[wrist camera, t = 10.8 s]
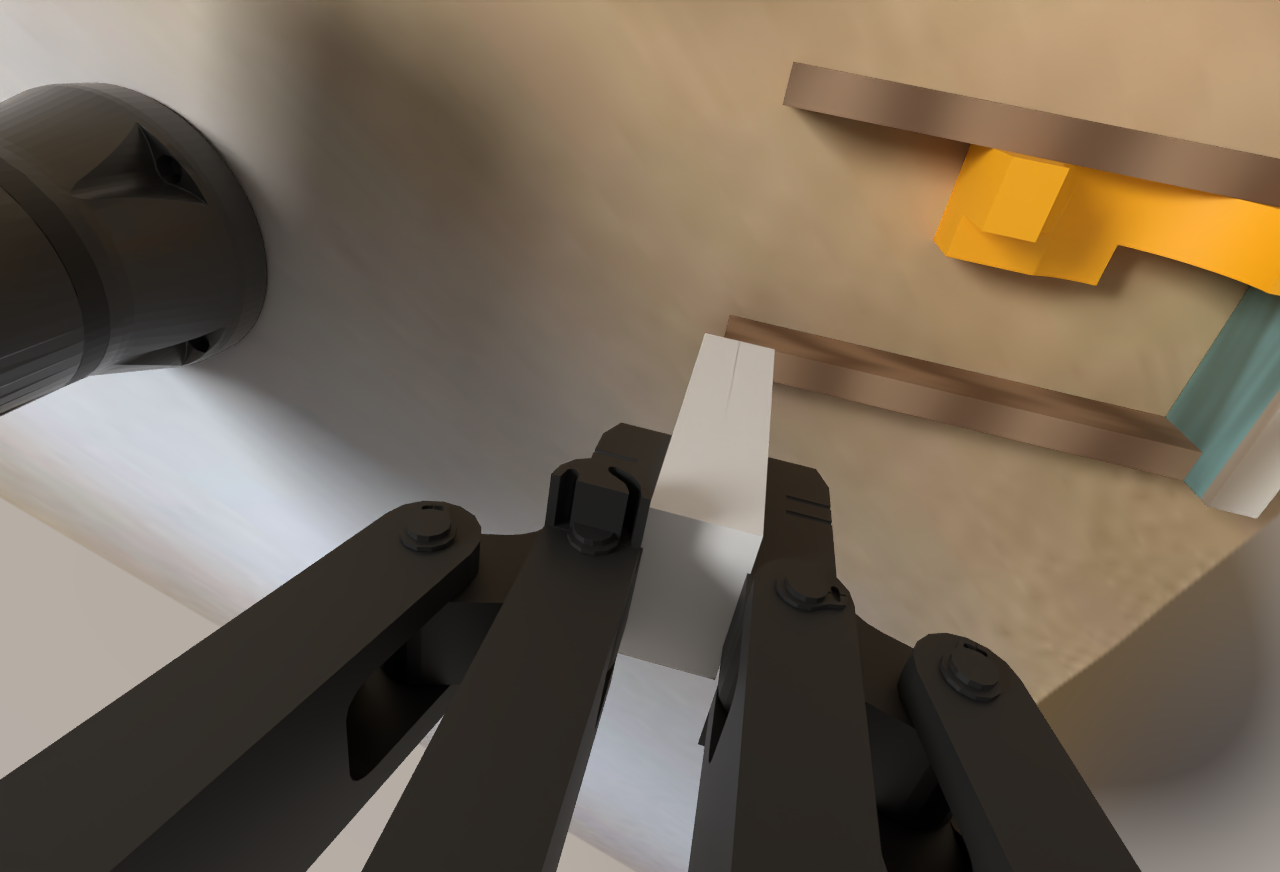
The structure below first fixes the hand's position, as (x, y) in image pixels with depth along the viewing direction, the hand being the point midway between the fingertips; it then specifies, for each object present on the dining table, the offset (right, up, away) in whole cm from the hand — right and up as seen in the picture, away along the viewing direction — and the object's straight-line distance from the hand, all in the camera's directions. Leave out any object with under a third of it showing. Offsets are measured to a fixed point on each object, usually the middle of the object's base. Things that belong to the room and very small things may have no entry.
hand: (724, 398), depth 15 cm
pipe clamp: (+18, +9, +15) cm, 25 cm away
